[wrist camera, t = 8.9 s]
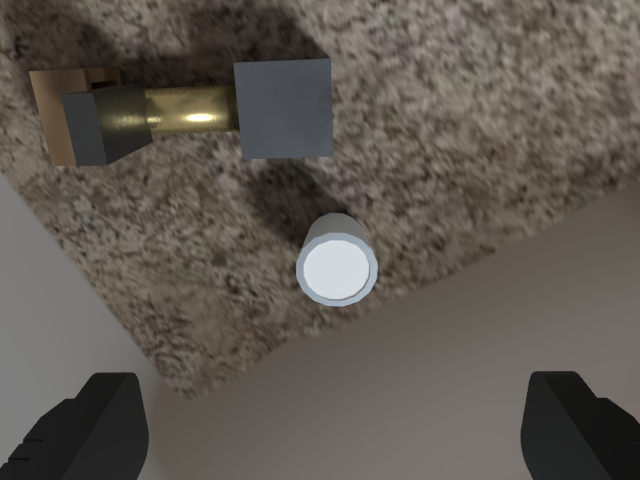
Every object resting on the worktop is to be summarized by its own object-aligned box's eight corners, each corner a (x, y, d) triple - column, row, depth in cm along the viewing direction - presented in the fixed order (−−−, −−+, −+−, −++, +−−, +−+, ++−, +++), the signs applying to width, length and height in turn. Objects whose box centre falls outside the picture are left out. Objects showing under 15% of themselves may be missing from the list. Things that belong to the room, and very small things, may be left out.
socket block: (118, 66, 40) (82, 69, 35) (134, 148, 43) (102, 164, 37) (72, 68, 41) (28, 71, 35) (90, 150, 43) (52, 166, 37)
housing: (330, 57, 40) (330, 58, 34) (332, 141, 42) (333, 156, 37) (247, 61, 40) (233, 62, 34) (254, 144, 43) (242, 159, 37)
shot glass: (346, 192, 44) (350, 217, 38) (384, 250, 46) (393, 282, 40) (286, 230, 46) (279, 260, 39) (325, 284, 48) (324, 320, 41)
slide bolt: (246, 78, 39) (215, 88, 29) (251, 132, 41) (224, 161, 30) (92, 84, 40) (3, 96, 29) (103, 137, 41) (23, 167, 31)
